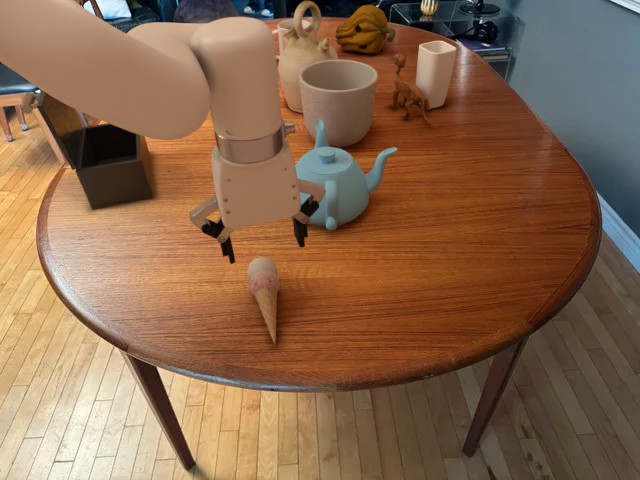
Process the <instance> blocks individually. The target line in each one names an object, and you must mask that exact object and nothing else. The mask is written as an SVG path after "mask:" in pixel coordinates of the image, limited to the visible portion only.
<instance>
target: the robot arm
mask: <svg viewBox="0 0 640 480" xmlns="http://www.w3.org/2000/svg"><path fill="white" fill-rule="evenodd" d="M272 31H273V30H272V29H271V27H269V25H268V24H267V23H266V22H264V21H263V20H260V19H258V18H254V17H249V16H240V17H229V18H223V19H219V20H215V21H212V22H210V23H174V22H169V21H167V22H164V21H163V22H161V21H160V22H159V21H157V22H156V21H155V22H154V21H153V22H147V23H146V22H145V23H142V24H139V25H137V26H135V27H133V28H131V29H130V30H129V31H128V32H127V33H126V32H124V31H122V30H120V29H119V28H117V27H115V26H113V25H112V24H110V23H108V22H106V21H105V20H103V19H101V18H100V17H98V16H96V15H95V14H94V13H92V12H90V11H89V10H88V9H86V8H85V7H83V6H82V5H81V4H79V3H78V2H77V1H76V0H0V63H2V64H3V66H5V67H7V68H9V69H10V70H12V71H13V72H15V73H16V74H18V75H20V77H22V78H23V79H25V80H27V81H28V82H29V83H31V84H32V85H34V86H35V87H36V88H38V89H39V90H43V91H44V92H46V93H47V94H49V95H50V96H52V97H54V98H56V99H57V100H59V101H61V102H62V103H64V104H66V105H68V106H70V107H72V108H74V109H75V111H78V112H81V113H83V114H85V115H87V116H90V117H93V118H95V119H97V120H100V121H102V122H104V123H109V124H112V125H114V126H117V127H119V128H122V129H125V130H127V131H130V132H133V133H135V134H138V135H142V136H144V137H145V138H149V139H155V140H160V141H173V140H180V139H183V138H186V137H189V136H190V135H193V134H194V133H196V132H197V131H198V130H199V129H200V128H201V127H202V126H203V124H204V123H205V121H206V120H207V118H208V115H209V114H210V117H211V122H212V127H213V133H214V137H215V142H216V145H215V146H214V147H213V148H212V150H211V173H212V174H211V175H212V181H213V182H212V183H213V189H214V195H212V196H211V197H208V199H206V200H205V201H203V202H202V203H200V204H199V205H198V206H196V207H195V208H194V209H192V210H191V211H189V218H190V219H189V220H190V222H191V223H192V224H193V225H195V226H196V227H197V228H198V229H199V230H201V232H202V233H203V234H205V235H206V236H208V237H211V238H213V239H215V240H216V242H217V243H219V244H220V249H221V253H222V257H228V259H229V264H230V265H233V264H235V263H236V258H235V253H234V248H233V244H232V238H231V234H233V232H234V230H236V229H243V228H248V227H252V226H253V227H254V226H258V225H263V224H268V223H271V222H275V221H280V220H283V219H289V218H291V217H292V225H293V233H294V235H293V236H294V237H295V240H296V242H297V245H298V247H299V248H305V247H306V240H305V238H308V237H309V233H308V232H309V231H308V224H309V222H310V217H311V216H312V215H313V214H314V213H315V212H316V210H317V209H318V208H319V203H320V202H321V201H322V199H323V197H324V195H325V193H326V190H325V189H324V187H323V185H322V184H318V183H314V182H310V181H306V180H301V179H297V174H296V168H295V166H296V164H295V159H294V156H293V153H292V150H291V145H290V143H289V140H288V138H287V136H289V135H290V134H294V133H296V125H295V122H294V121H293V120H292V121H287V120H284V119H283V118H282V109H281V99H280V90H279V89H280V87H279V75H278V66H277V65H278V64H277V59H276V55H277V54H276V53H277V52H276V44H275V43H276V42H275V38H274V37H275V36H274V35H273V33H272ZM300 192H301V193H305V194H310V197H309V198H308V199H307V200H306V201H305V202H304V203H303V204H301V200H300ZM216 211H219V215H220V216H219V217H218V219H217V220H216V222H215V221H213V220H211V219H209V218H207V217H209V216H210V215H212V214H214V213H216Z"/></svg>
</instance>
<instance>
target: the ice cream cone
mask: <svg viewBox="0 0 640 480" xmlns="http://www.w3.org/2000/svg"><path fill="white" fill-rule="evenodd" d="M246 275H247V278H248V280H249V281H248V288H249V291H250V293H251V294H252V296H253V297H255V299H256V302H257V304H258V307H259V309H260V312H261V314H262V317H263V318H264V322H265V324H266V328H267V329H268V332H269V334H270V338H271V339H272V342H273V345H276V343H277V342H276V341H277V339H276V338H277V307H278V304H277V303H278V292H279V291H280V286H281V285H280V284H281V282H280V279H279V276H278V268H277V265H276V263H275V262H274V261H273V260H272V259H271V258H269V257H266V256H260V257H256V258H254V259H253V260H252V261H251V262H249V264H248V266H247V270H246Z"/></svg>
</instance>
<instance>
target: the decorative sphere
mask: <svg viewBox="0 0 640 480" xmlns="http://www.w3.org/2000/svg"><path fill="white" fill-rule="evenodd" d="M229 17H241V15H240V14H239V11H238V9H237V8H236V6H235V5H234V4H233V2H231V0H181V1H180V2H179V3H178V5H177V7H176V9H175V11H174V16H173V23H210V22H212V21H215V20H219V19H223V18H229Z"/></svg>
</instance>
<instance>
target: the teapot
mask: <svg viewBox="0 0 640 480" xmlns="http://www.w3.org/2000/svg"><path fill="white" fill-rule="evenodd" d="M316 130H317V135H316V140H315V143H314V147H313V148H312V149H311V150H308V151H307V152H306V153H304V154H303V155H302V156H301V157H300V158H299V160H298V161H297V162H296V164H295V168H296V174H297V179H301V180H306V181H310V182H314V183H318V184H322V185H323V187H324V189H325V190H326V193H325V195H324V197H323V199H322V201H321V202H320V203H319V208H318V209H317V210H316V212H315V213H314V214H313V215H312V216H311V217H310V222H309V223H308V225H312V226H315V227H321V228H322V227H323V228H326V230H329V231H334V230H337V228H338V227H339V226H343V225H346V224H348V223H350V222H351V221H353V220H355V219H356V218H357V217H359V216H360V215H361V214H362V213H363V212H365V210H366V208H367V207H368V204H369V201H370V195H371V194H373V193H374V192H375V191H376V190H377V189H379V187H380V185H381V183H382V180H383V176H384V171H385V170H384V169H385V165H386V164H387V163H386V162H387V160H388V159H389V158H390V156H392V155H393V154H394V153H395V152H396V151H398V147H390V148H386V149H383V150H382V151H381V152H380V153H379V154H378V155H377V157H376V159H375V160H374V164H373V167H372V168H371V169H370V171H368V172H366V173H364V172H363V170H362V167H360V165H359V163H358V162H357V161H356V159H355V158H354V156H352V155H351V154H350V153H349V152H347V151H346V150H344V149H343V148H340V147H330V146H329V145H328V141H327V137H326V132H325V126H324V123H323V122H322V120H317V122H316ZM309 197H310V194H305V193H301V192H300V200H301V204H303V203H304V202H305V201H306V200H307V199H308V198H309Z"/></svg>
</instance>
